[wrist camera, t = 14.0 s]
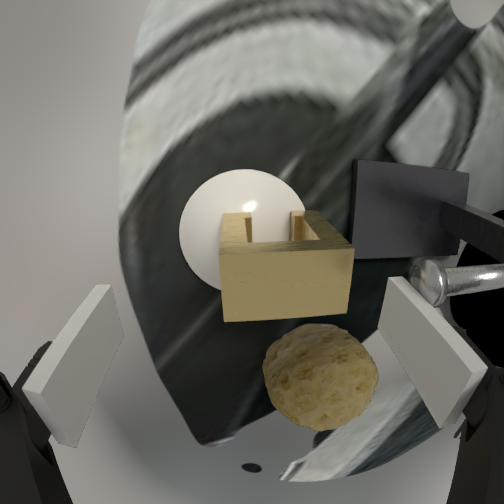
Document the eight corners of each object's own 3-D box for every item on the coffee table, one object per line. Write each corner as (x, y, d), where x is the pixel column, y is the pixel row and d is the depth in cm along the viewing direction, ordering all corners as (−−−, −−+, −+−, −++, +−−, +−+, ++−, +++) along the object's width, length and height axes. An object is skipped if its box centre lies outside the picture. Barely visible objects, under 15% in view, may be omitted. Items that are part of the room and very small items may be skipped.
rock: (281, 295, 30) (231, 361, 22) (393, 317, 25) (378, 401, 17) (280, 362, 34) (240, 426, 26) (373, 385, 29) (350, 459, 21)
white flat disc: (176, 171, 22) (175, 172, 21) (310, 169, 22) (312, 170, 22) (186, 291, 25) (185, 295, 25) (303, 288, 26) (305, 291, 25)
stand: (331, 157, 22) (505, 208, 6) (462, 172, 23) (611, 225, 7) (325, 255, 25) (433, 413, 9) (451, 251, 26) (573, 343, 10)
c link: (226, 263, 24) (224, 321, 16) (223, 213, 22) (218, 254, 15) (314, 258, 24) (346, 313, 17) (316, 210, 23) (354, 248, 15)
